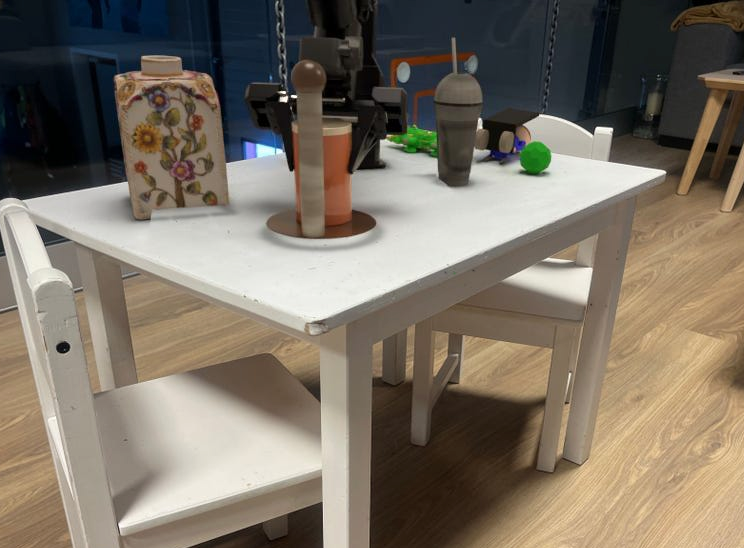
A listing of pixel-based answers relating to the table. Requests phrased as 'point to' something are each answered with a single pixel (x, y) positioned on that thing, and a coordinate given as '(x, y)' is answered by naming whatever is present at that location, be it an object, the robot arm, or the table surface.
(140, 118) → the decorative jar
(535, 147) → the polyhedron
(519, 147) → the figurine character
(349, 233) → the towel holder
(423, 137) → the crocodile figurine
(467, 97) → the beverage cup
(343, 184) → the tumbler
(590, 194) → the table surface
